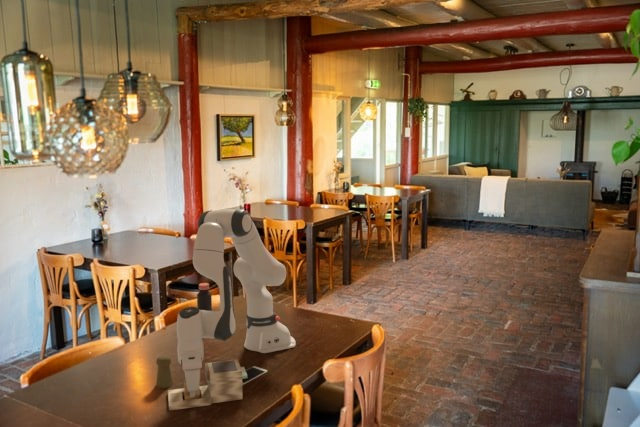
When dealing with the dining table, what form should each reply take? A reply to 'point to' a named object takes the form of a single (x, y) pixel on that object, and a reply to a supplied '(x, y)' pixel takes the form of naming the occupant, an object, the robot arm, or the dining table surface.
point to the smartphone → (253, 374)
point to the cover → (207, 373)
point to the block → (187, 394)
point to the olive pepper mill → (164, 372)
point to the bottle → (204, 297)
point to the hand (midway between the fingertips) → (191, 391)
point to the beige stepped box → (213, 387)
